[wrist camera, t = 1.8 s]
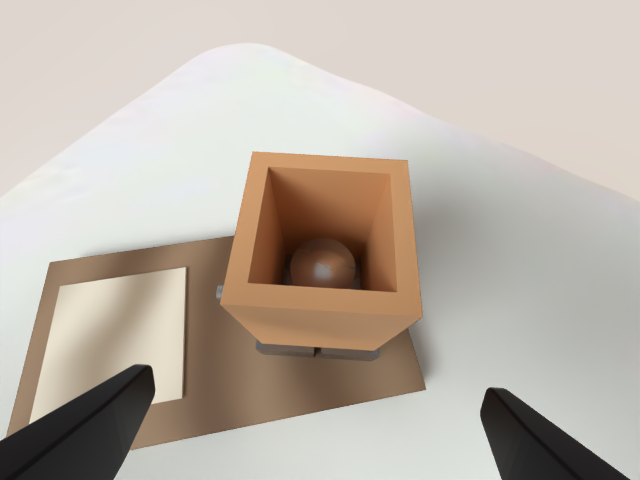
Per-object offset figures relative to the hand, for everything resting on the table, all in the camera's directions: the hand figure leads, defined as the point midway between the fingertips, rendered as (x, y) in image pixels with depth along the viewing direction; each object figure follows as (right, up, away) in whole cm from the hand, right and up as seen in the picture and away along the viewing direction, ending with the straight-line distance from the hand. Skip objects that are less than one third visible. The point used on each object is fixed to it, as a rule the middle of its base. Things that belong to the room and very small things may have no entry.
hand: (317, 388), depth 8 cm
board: (-6, -2, +12) cm, 14 cm away
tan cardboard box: (0, +1, +9) cm, 9 cm away
